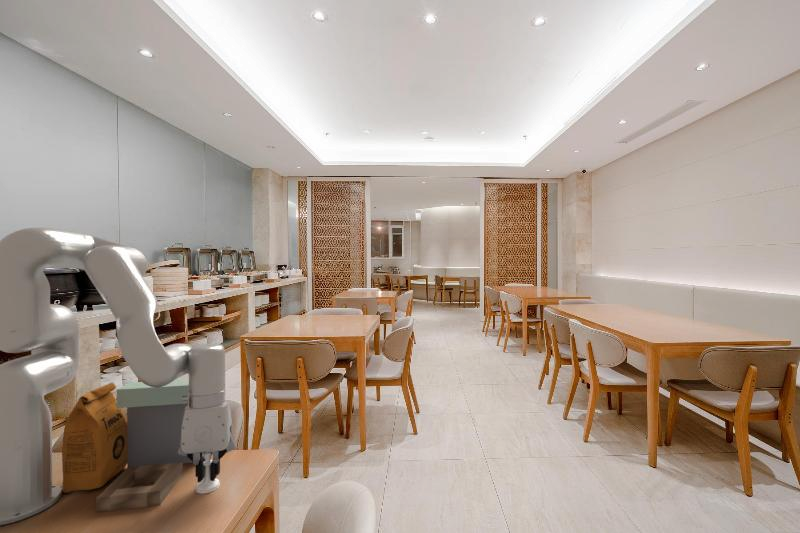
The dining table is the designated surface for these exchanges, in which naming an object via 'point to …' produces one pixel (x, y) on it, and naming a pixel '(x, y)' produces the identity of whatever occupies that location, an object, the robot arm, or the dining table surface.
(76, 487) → the coffee package
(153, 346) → the robot arm
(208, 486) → the chess piece
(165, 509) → the dining table surface
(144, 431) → the grey green box
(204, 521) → the dining table surface
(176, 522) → the dining table surface
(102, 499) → the socket block
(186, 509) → the dining table surface
